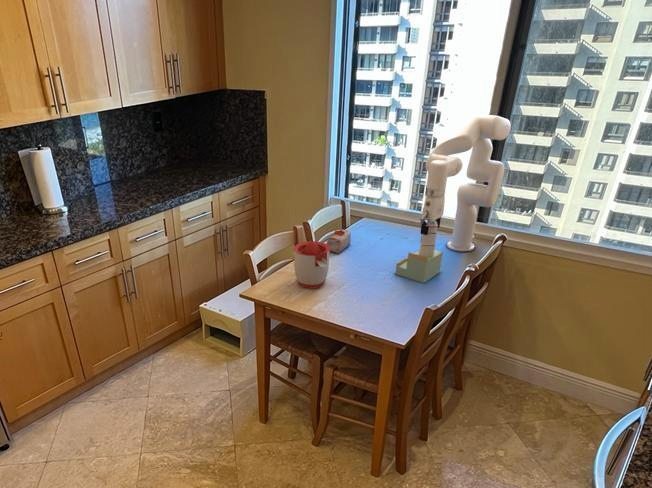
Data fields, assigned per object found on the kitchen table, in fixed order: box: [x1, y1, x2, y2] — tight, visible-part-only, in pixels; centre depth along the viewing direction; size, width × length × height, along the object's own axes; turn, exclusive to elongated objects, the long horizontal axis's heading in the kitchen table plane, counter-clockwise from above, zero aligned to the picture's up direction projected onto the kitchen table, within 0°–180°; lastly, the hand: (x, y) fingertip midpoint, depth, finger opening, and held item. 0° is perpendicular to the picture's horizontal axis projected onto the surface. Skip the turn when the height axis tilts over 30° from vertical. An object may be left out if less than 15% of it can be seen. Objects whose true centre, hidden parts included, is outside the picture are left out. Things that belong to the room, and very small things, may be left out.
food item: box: [326, 229, 352, 255], centre depth 258 cm, size 14×8×10 cm, turn 144°
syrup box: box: [418, 220, 438, 256], centre depth 222 cm, size 6×6×14 cm
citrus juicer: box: [293, 240, 330, 289], centre depth 223 cm, size 16×17×20 cm
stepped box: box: [395, 249, 444, 284], centre depth 229 cm, size 14×14×12 cm
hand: (429, 230), depth 220 cm, fingers open, 9 cm apart
